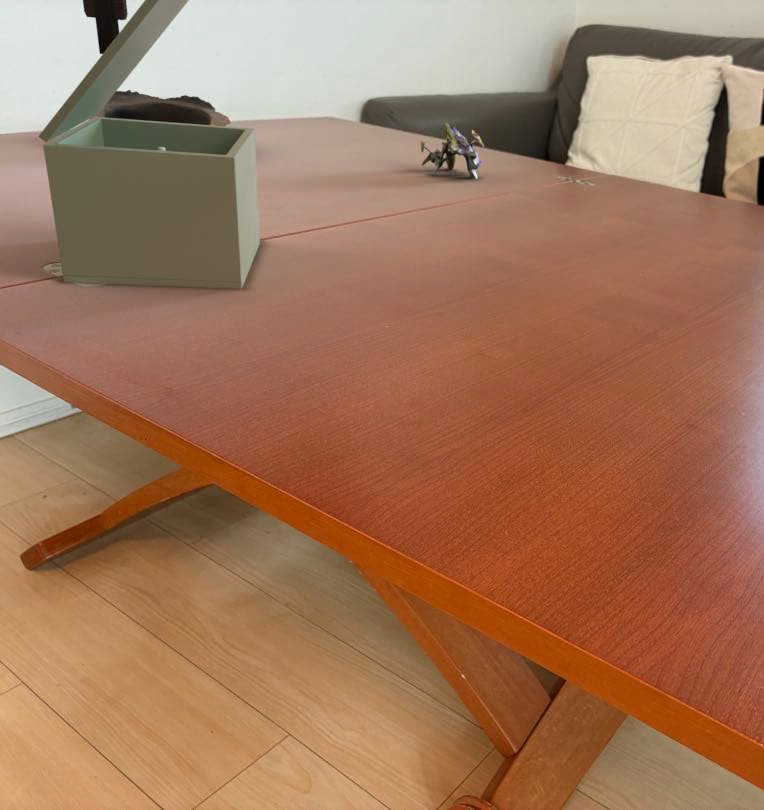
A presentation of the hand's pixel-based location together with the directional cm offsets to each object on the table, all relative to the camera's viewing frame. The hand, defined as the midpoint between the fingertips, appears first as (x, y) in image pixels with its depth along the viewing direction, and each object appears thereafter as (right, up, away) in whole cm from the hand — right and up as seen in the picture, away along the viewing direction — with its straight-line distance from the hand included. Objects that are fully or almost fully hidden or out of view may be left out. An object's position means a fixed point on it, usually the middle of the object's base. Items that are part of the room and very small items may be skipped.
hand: (110, 53), depth 89 cm
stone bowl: (-23, +8, +63) cm, 68 cm away
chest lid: (+1, -1, +1) cm, 2 cm away
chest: (+2, -20, +11) cm, 23 cm away
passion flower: (+29, +5, +69) cm, 75 cm away
